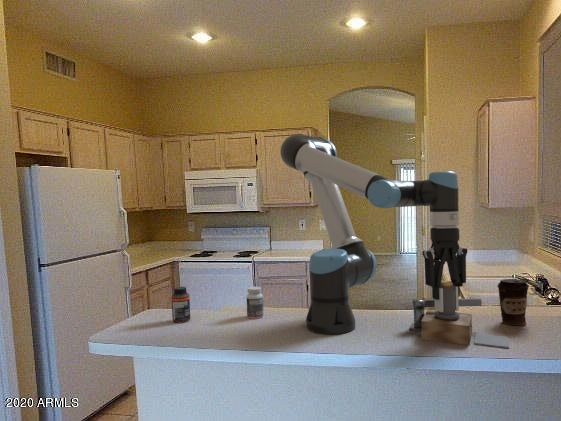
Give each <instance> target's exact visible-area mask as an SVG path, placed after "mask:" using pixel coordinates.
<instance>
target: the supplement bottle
mask: <svg viewBox="0 0 561 421" xmlns="http://www.w3.org/2000/svg"><path fill="white" fill-rule="evenodd" d="M173 292H174V293H173V294H172V295H171V313H172V314H171V315H172V316H171V317H172V322H173V323H175V322H183V323H186V322H185V321H187V322H189V321H190V320H191V300H190V293H189V292H188V291H187V287H186V286H176V287H174V288H173ZM188 320H189V321H188Z"/></svg>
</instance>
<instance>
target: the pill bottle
mask: <svg viewBox="0 0 561 421" xmlns="http://www.w3.org/2000/svg"><path fill="white" fill-rule="evenodd" d="M247 293H248V294H247V295H246V316H247V318H248V319H251V318H252V319H254V320H256V319H257V320H258V319H262V318H263V317H264V316H265V314H264V313H265V312H264V295H263V293H262V287H261V286H250V287H248V288H247Z"/></svg>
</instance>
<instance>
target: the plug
mask: <svg viewBox="0 0 561 421" xmlns="http://www.w3.org/2000/svg"><path fill="white" fill-rule="evenodd" d="M440 288H443V312H439V311H437V310H434V311H435V317H436V318H439V319H440V320H450V321H456V320H457V319H459V313H460V312H457V311H456V310H455V286H454V285H452V282H451V280H450V281H449V280H441V285H440Z"/></svg>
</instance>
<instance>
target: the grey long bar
mask: <svg viewBox="0 0 561 421" xmlns="http://www.w3.org/2000/svg"><path fill="white" fill-rule="evenodd" d="M411 303H412V305H411V306H412V308H413V309H414V308H424V309H425V308H435V301H434V299H433V298H432V299H429V298H428V299H423V298H413V299H412V302H411ZM458 305H459V307H482V306H483V304H482V298H480V297H478V298H471V297H470V298H458Z"/></svg>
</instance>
